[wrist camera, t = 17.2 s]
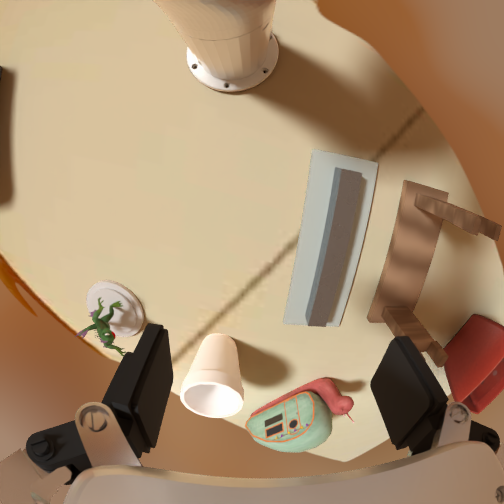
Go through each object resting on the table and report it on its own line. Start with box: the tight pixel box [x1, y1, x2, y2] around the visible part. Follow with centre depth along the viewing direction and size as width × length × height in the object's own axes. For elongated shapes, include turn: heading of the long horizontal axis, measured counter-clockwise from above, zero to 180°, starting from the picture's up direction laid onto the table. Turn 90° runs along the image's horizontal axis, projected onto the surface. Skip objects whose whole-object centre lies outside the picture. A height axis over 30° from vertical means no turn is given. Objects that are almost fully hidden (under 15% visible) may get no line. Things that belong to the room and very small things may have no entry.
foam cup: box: [180, 333, 244, 418], centre depth 41 cm, size 10×9×13 cm
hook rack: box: [367, 180, 502, 367], centre depth 33 cm, size 25×9×16 cm, turn 174°
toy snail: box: [245, 378, 354, 452], centre depth 47 cm, size 25×8×14 cm, turn 132°
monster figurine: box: [75, 280, 144, 356], centre depth 40 cm, size 12×12×10 cm
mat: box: [283, 149, 378, 327], centre depth 40 cm, size 28×10×1 cm, turn 174°
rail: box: [305, 167, 362, 327], centre depth 38 cm, size 24×3×3 cm, turn 174°
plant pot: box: [443, 314, 504, 414], centre depth 42 cm, size 19×19×17 cm
